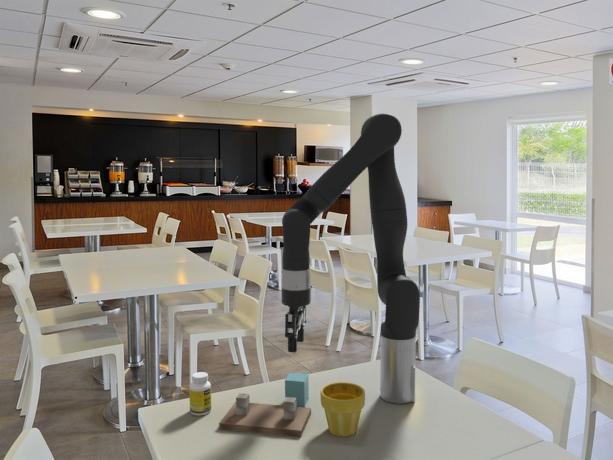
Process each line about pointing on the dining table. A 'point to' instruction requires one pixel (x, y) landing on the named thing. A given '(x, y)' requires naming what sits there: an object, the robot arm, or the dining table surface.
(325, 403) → the plant pot
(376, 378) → the dining table surface
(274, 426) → the post board
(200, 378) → the supplement bottle
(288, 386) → the teal rectangular block
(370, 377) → the dining table surface
